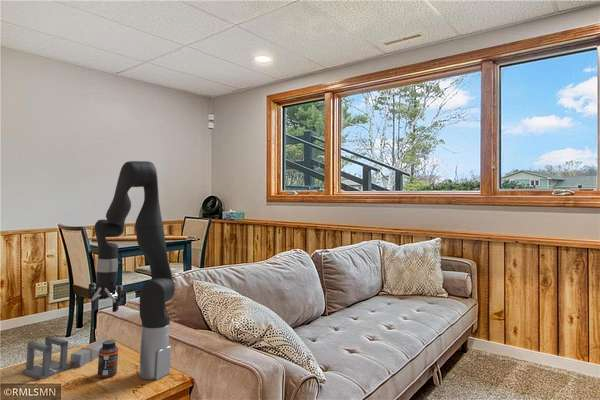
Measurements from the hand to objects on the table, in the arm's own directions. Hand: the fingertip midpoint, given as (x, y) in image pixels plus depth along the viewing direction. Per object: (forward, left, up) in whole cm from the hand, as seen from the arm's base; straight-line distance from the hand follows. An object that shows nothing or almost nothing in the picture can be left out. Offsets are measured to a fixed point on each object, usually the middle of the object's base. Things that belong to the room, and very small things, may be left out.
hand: (105, 310), depth 150 cm
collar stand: (+1, +21, -16) cm, 27 cm away
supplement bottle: (-19, +13, -16) cm, 28 cm away
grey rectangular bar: (-2, +6, -16) cm, 17 cm away
